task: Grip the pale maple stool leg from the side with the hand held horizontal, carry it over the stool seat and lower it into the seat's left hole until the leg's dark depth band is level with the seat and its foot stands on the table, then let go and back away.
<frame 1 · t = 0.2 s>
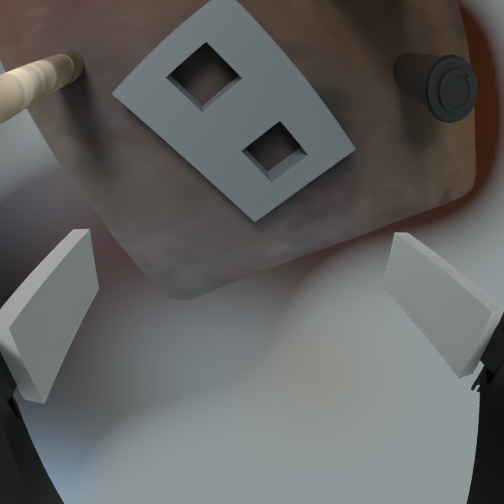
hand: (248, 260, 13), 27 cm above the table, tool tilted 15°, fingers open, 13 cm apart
coffee cup: (409, 71, 32), on the table
maple leg: (68, 67, 27), on the table
stool seat: (239, 109, 34), on the table
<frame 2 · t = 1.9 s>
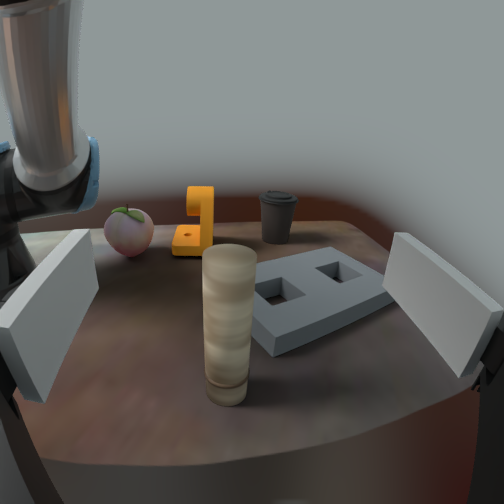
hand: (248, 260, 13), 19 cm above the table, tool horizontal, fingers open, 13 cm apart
coffee cup: (274, 240, 67), on the table
maple leg: (226, 391, 30), on the table
bracket: (193, 248, 61), on the table
stool seat: (307, 297, 47), on the table
decorative fruit: (132, 257, 56), on the table
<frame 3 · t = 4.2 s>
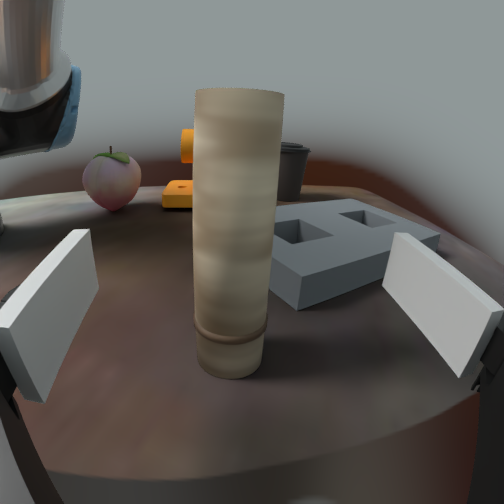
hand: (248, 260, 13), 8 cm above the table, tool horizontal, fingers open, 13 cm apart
coffee cup: (283, 198, 57), on the table
maple leg: (229, 356, 19), on the table
bracket: (188, 204, 51), on the table
stool seat: (332, 247, 36), on the table
decorative fruit: (115, 212, 45), on the table
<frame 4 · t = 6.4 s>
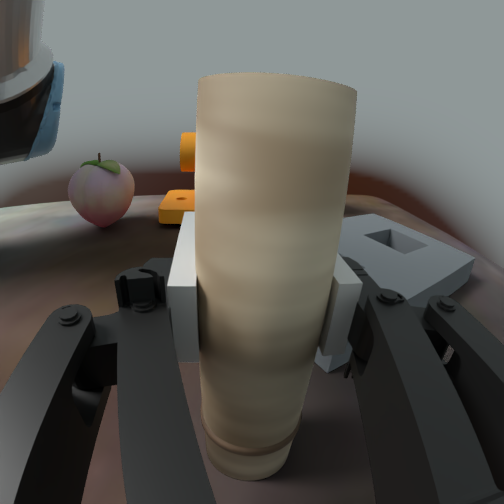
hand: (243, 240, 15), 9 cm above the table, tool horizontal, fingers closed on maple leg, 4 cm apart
maple leg: (247, 446, 13), on the table, touching gripper
bracket: (189, 218, 45), on the table
stool seat: (358, 276, 31), on the table
decorative fruit: (105, 228, 40), on the table
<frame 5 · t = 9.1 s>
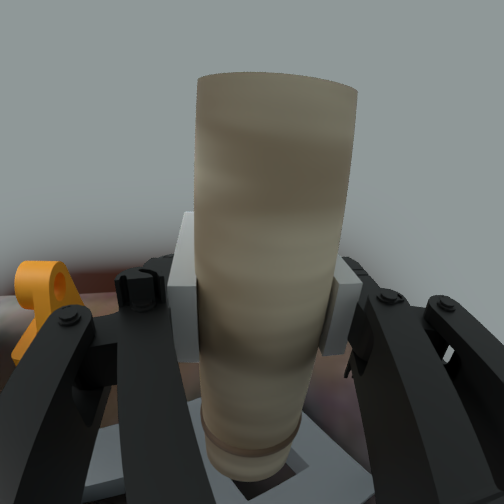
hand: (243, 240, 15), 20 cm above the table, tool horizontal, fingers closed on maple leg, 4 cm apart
maple leg: (247, 447, 13), point 12 cm above the table, touching gripper
bracket: (55, 351, 33), on the table
stool seat: (191, 502, 19), on the table
when the fingers open (9 cm above the table, at t = 12.0 s): maple leg stays where it is, resting in stool seat.
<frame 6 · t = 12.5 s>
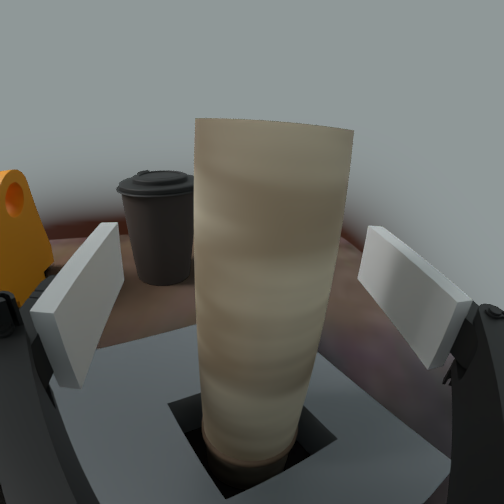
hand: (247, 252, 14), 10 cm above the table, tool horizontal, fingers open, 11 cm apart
coffee cup: (163, 274, 31), on the table
maple leg: (246, 456, 14), resting in stool seat
bracket: (8, 292, 25), on the table
stool seat: (137, 495, 11), on the table
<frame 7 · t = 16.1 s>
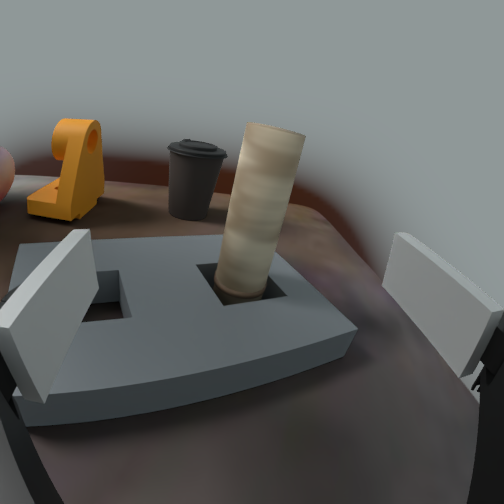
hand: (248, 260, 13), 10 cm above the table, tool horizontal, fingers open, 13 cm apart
coffee cup: (187, 214, 44), on the table
maple leg: (233, 310, 27), resting in stool seat
bracket: (66, 209, 37), on the table
stool seat: (165, 319, 24), on the table
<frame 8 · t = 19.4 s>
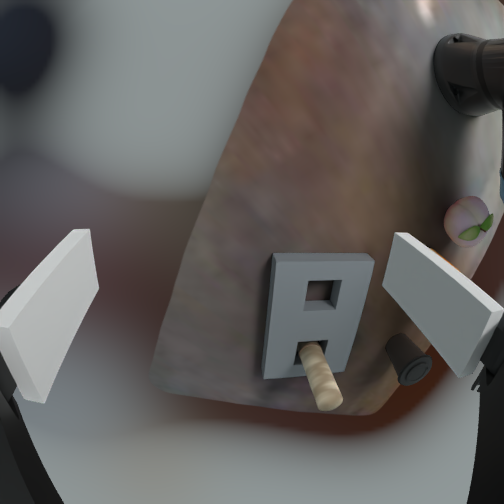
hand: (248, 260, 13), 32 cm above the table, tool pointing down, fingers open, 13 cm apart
coffee cup: (396, 342, 61), on the table
maple leg: (306, 342, 57), resting in stool seat
stool seat: (311, 316, 54), on the table
decorative fruit: (450, 212, 50), on the table
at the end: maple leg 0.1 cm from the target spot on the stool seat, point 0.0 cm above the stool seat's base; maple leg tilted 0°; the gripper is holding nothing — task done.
